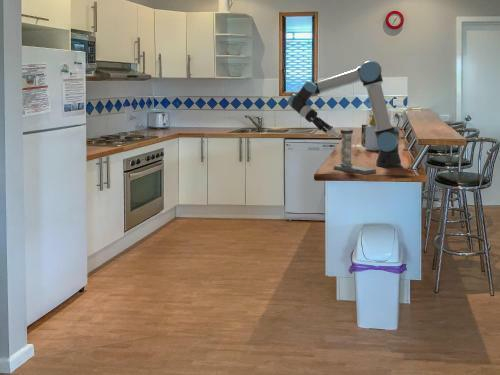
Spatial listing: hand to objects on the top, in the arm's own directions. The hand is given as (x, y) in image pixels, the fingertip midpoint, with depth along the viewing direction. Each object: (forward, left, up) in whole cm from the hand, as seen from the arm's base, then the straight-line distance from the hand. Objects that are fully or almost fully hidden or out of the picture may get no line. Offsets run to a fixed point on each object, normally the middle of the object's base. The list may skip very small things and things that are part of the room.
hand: (334, 135), depth 426 cm
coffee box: (-51, -113, -20) cm, 126 cm away
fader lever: (-6, +5, -18) cm, 19 cm away
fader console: (-10, +11, -20) cm, 24 cm away
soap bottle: (-48, -88, -20) cm, 102 cm away
